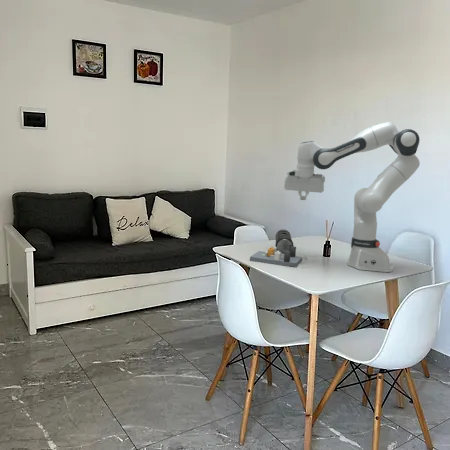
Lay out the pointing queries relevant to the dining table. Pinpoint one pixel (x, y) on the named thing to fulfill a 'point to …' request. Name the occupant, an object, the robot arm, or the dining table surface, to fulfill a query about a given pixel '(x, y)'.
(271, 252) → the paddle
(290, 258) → the panel
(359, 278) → the dining table surface
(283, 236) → the muzzle brake
